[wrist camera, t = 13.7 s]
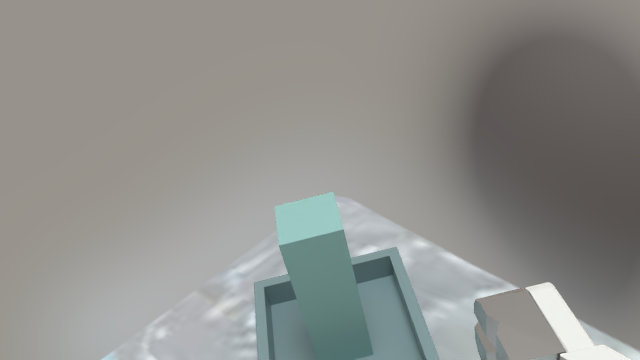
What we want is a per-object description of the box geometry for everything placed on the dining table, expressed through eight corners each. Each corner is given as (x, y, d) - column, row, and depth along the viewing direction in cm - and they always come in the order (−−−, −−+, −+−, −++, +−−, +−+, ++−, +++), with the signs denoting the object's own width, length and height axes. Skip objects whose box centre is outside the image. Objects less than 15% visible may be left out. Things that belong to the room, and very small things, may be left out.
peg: (319, 368, 41) (278, 245, 34) (312, 325, 44) (274, 206, 37) (373, 354, 41) (343, 229, 34) (362, 313, 44) (333, 191, 37)
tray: (272, 438, 38) (260, 413, 36) (263, 307, 48) (253, 282, 46) (446, 395, 38) (442, 367, 36) (401, 272, 48) (396, 246, 46)
